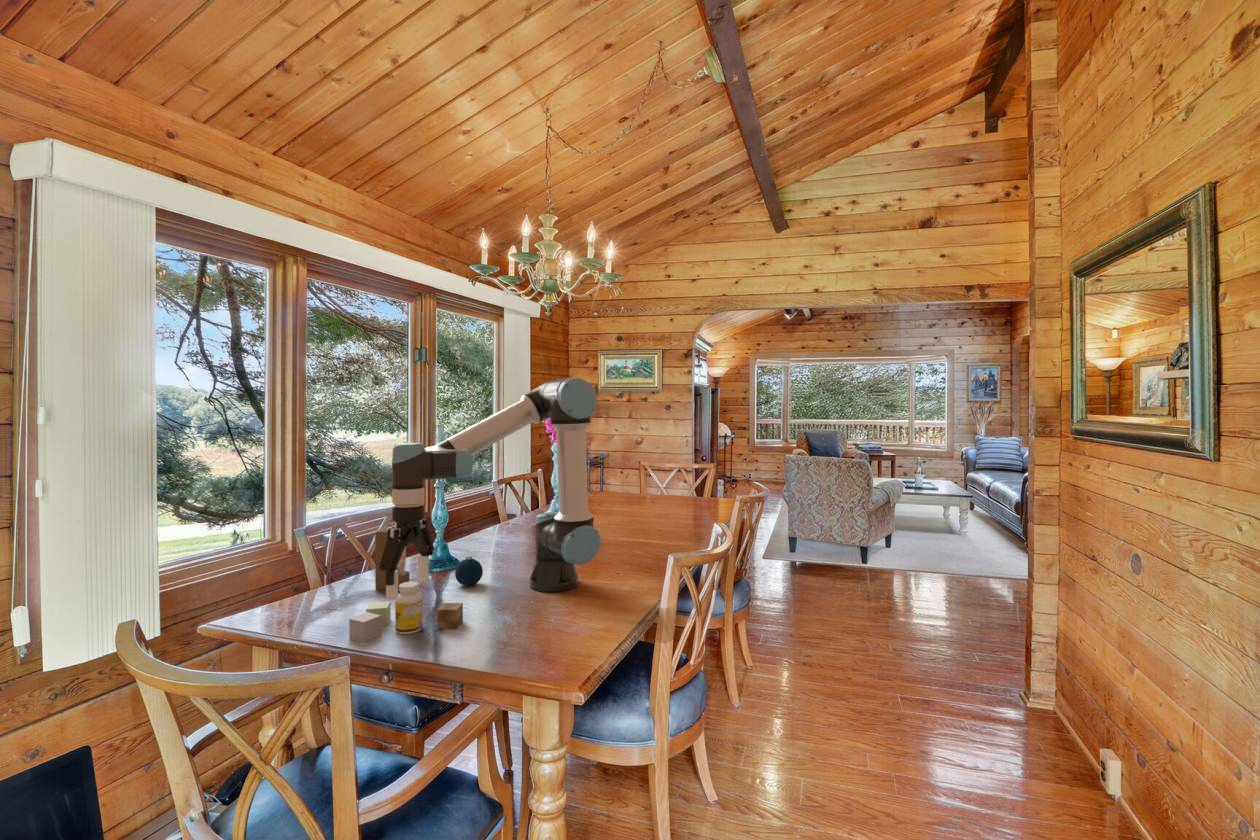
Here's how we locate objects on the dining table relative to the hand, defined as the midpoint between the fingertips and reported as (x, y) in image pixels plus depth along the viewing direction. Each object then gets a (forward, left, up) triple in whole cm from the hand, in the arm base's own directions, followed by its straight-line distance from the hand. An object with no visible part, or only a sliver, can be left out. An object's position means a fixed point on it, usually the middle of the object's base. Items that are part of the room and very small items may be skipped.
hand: (408, 588), depth 143 cm
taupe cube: (+8, +6, -11) cm, 14 cm away
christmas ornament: (+2, -36, -11) cm, 38 cm away
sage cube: (+10, -2, -11) cm, 15 cm away
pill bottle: (0, 0, -11) cm, 11 cm away
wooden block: (+24, -29, -11) cm, 39 cm away
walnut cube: (-9, -5, -11) cm, 14 cm away
